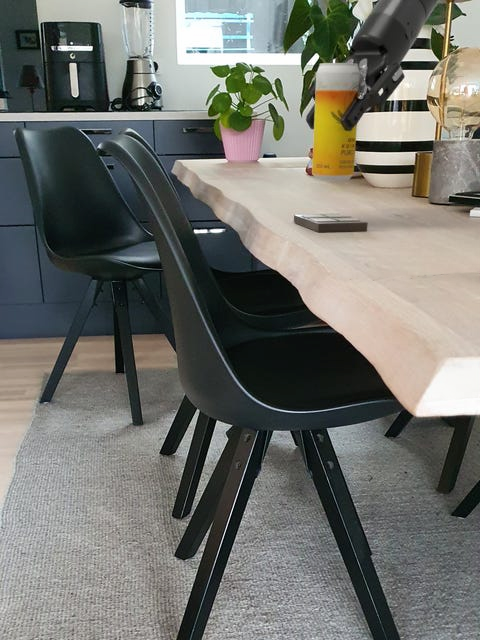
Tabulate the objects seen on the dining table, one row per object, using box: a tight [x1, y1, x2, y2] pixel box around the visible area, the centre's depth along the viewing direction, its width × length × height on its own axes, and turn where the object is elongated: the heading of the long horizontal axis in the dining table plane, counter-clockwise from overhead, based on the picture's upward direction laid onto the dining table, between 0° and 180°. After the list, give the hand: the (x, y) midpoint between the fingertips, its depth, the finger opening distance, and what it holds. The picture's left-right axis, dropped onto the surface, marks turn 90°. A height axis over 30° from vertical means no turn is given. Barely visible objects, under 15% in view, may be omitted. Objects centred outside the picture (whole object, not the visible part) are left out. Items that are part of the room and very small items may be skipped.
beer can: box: [311, 62, 360, 183], centre depth 114 cm, size 6×6×15 cm
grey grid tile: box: [293, 213, 368, 233], centre depth 120 cm, size 11×8×1 cm
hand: (327, 125), depth 113 cm, fingers closed on beer can, 6 cm apart
